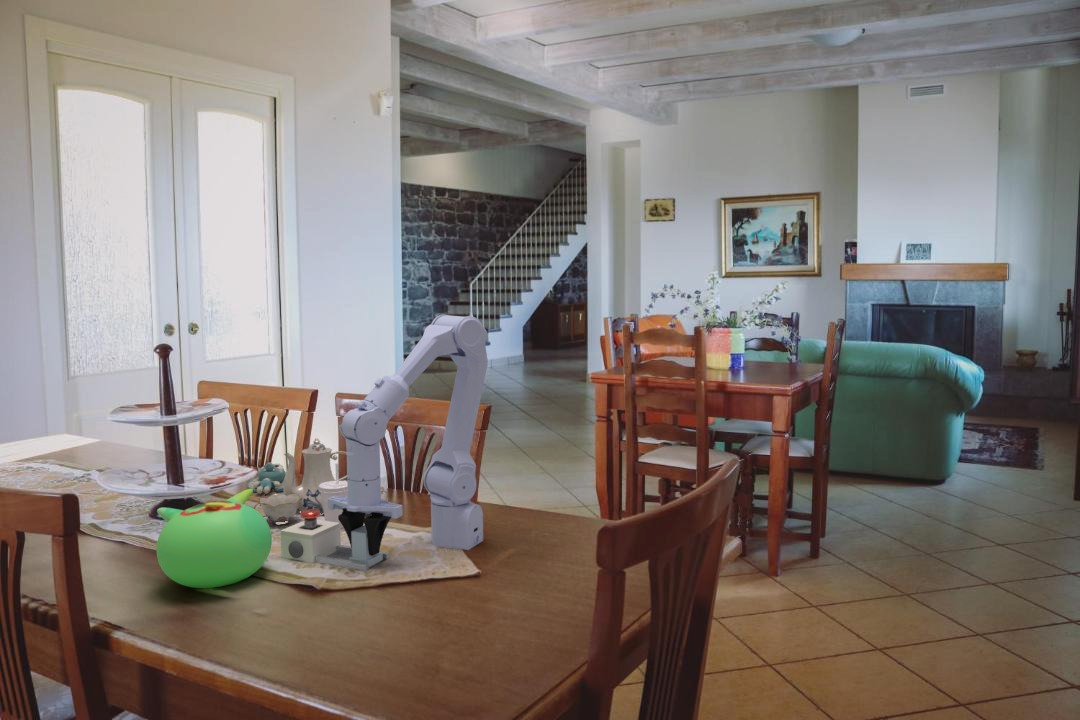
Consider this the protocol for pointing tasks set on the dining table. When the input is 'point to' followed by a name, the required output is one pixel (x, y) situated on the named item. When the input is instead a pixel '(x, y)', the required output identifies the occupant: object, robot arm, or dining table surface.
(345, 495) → the smoothie
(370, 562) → the carriage
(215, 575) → the green rounded blob
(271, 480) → the stuffed animal
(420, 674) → the dining table surface
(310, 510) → the red push button
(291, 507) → the chinaware
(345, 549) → the rail
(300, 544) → the end cabinet
